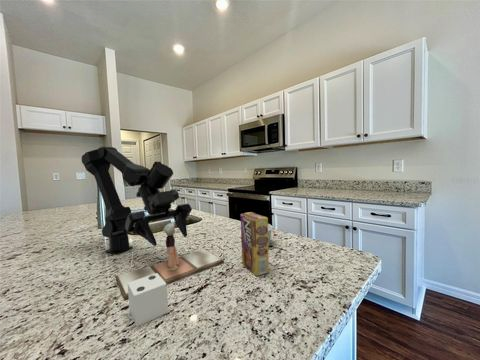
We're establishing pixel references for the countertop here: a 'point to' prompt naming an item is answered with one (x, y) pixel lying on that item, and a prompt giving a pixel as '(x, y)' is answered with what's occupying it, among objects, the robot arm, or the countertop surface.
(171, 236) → the grandmother figurine
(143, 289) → the white die
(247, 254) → the candy box
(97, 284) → the countertop surface
